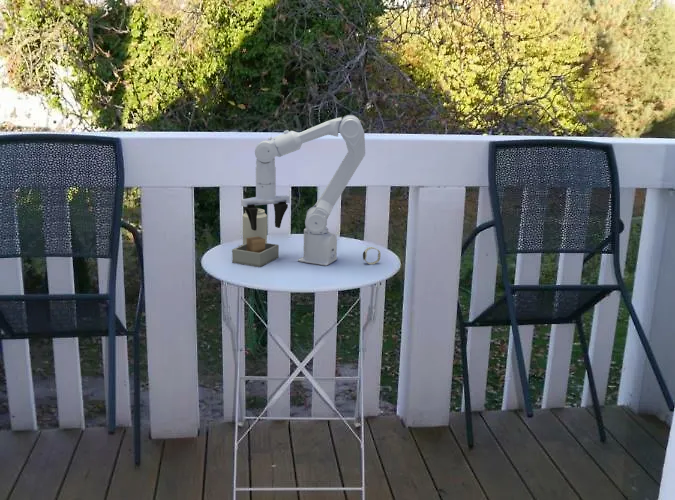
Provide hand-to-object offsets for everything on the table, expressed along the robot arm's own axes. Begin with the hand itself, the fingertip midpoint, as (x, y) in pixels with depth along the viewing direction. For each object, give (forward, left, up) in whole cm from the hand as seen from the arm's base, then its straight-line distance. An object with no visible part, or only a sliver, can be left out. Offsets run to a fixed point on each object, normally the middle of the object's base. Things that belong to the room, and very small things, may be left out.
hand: (265, 228), depth 214 cm
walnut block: (+2, +3, -9) cm, 9 cm away
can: (+9, -10, -10) cm, 17 cm away
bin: (+2, +3, -9) cm, 10 cm away
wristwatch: (-30, -11, -10) cm, 33 cm away
